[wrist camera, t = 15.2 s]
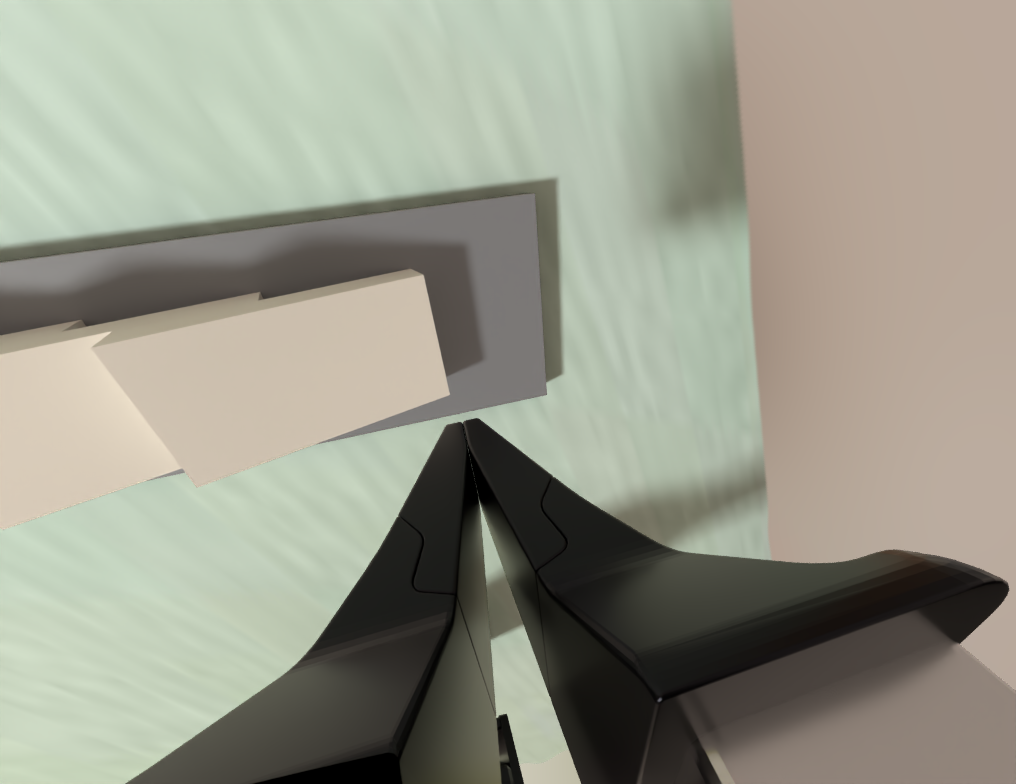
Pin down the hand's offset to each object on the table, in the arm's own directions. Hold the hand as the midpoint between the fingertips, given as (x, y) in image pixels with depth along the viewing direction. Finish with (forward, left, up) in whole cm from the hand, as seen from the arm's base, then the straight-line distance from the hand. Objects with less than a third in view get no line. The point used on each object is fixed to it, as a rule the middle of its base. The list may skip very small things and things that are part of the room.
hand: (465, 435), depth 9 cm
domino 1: (+1, +6, -7) cm, 9 cm away
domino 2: (+1, 0, -7) cm, 7 cm away
